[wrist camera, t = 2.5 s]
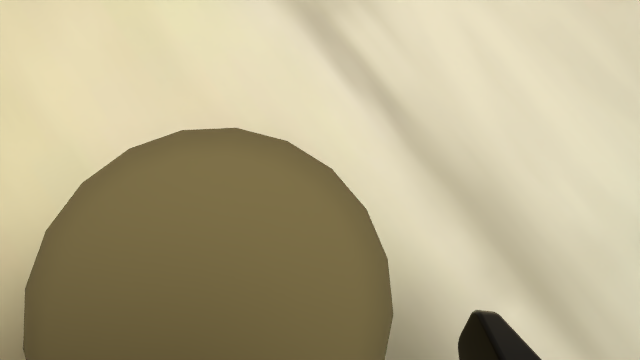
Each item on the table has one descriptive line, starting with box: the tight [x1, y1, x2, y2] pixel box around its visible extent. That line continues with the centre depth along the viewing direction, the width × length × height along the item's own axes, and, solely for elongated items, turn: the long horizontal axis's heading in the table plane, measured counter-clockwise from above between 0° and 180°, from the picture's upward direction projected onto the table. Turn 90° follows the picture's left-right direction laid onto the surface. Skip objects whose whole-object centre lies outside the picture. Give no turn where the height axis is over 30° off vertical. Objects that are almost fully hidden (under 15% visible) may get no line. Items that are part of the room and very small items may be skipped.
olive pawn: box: [23, 128, 393, 360], centre depth 11 cm, size 6×6×11 cm
